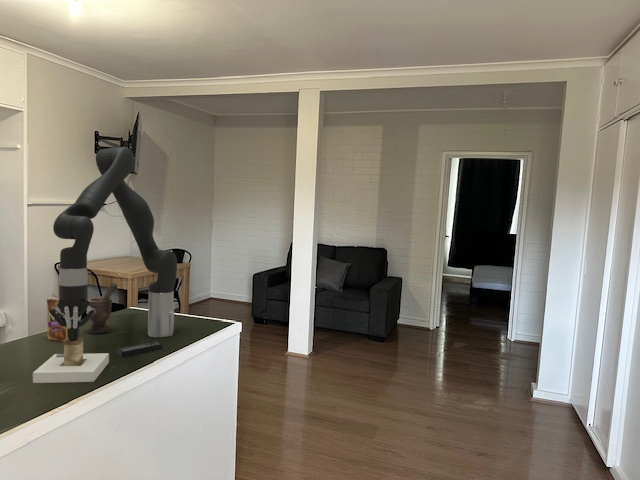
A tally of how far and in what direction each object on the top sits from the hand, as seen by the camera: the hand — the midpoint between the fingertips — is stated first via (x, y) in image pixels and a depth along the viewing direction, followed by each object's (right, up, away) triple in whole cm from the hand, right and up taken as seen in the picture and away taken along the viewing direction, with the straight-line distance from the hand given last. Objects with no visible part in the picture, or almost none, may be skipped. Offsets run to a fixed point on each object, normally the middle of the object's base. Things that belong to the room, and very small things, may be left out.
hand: (73, 339), depth 139 cm
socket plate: (0, -10, +1) cm, 10 cm away
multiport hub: (+12, -9, +22) cm, 26 cm away
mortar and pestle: (-11, -6, +42) cm, 44 cm away
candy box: (-21, -7, +31) cm, 38 cm away
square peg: (0, -10, +1) cm, 10 cm away
